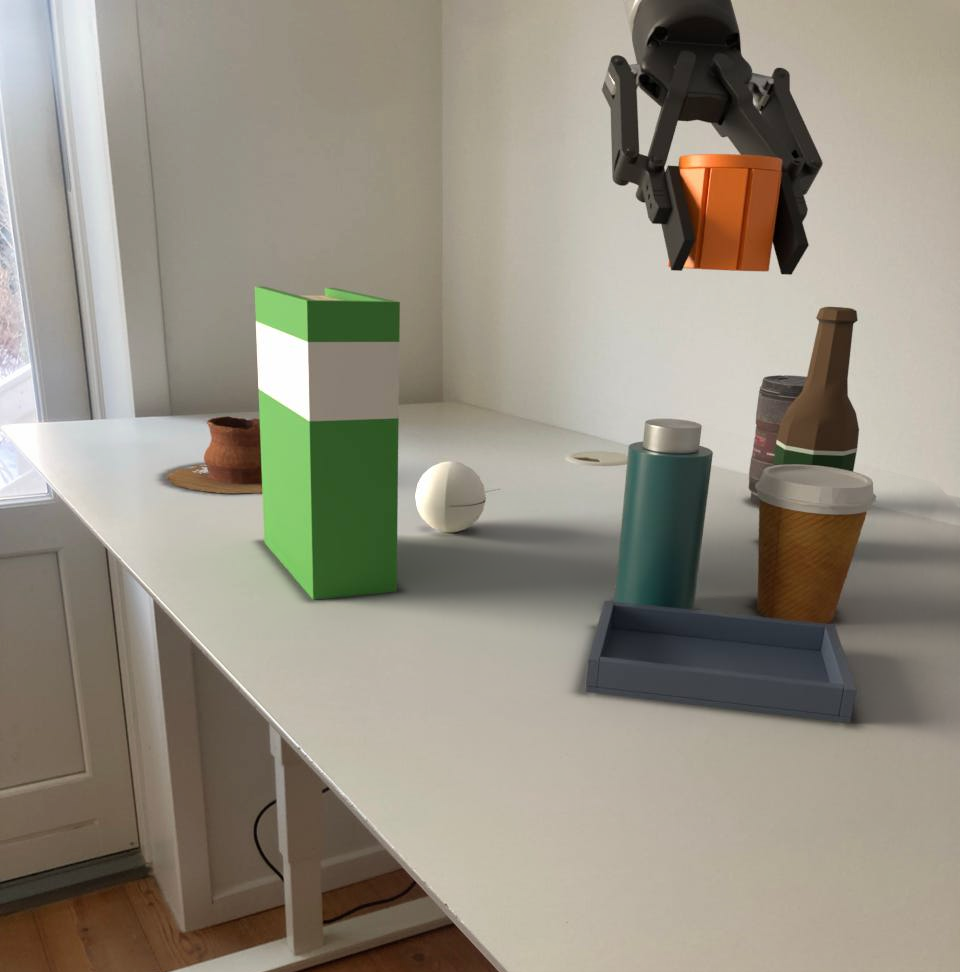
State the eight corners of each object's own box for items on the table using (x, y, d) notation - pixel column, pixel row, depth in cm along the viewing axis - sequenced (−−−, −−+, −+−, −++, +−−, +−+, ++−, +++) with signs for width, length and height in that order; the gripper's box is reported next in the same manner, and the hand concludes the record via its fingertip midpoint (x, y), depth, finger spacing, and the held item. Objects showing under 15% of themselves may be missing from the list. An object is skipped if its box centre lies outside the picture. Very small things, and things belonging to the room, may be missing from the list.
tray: (829, 655, 79) (834, 624, 78) (850, 725, 68) (856, 690, 67) (601, 630, 82) (604, 600, 81) (584, 693, 71) (587, 659, 70)
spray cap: (765, 269, 74) (779, 163, 71) (770, 272, 68) (785, 155, 65) (670, 265, 75) (680, 160, 73) (666, 267, 69) (677, 152, 66)
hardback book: (264, 544, 101) (254, 286, 92) (337, 538, 104) (334, 288, 95) (313, 601, 86) (307, 300, 77) (396, 592, 89) (399, 302, 80)
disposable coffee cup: (819, 594, 93) (842, 463, 89) (874, 632, 84) (902, 489, 80) (720, 596, 91) (738, 462, 87) (766, 635, 83) (789, 489, 78)
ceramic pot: (280, 458, 138) (279, 405, 135) (339, 486, 124) (338, 428, 122) (146, 469, 129) (141, 413, 126) (193, 501, 115) (189, 438, 112)
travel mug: (730, 503, 124) (747, 377, 119) (767, 494, 130) (785, 373, 124) (789, 517, 119) (809, 386, 113) (825, 508, 124) (846, 381, 119)
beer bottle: (794, 563, 102) (835, 310, 93) (745, 542, 108) (779, 304, 100) (854, 556, 105) (899, 311, 96) (803, 536, 112) (841, 305, 103)
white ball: (430, 543, 103) (432, 471, 100) (404, 525, 109) (405, 456, 107) (519, 536, 107) (523, 466, 104) (489, 518, 113) (492, 452, 111)
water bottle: (692, 605, 89) (715, 419, 83) (691, 632, 83) (716, 433, 77) (616, 597, 90) (633, 413, 84) (610, 623, 84) (628, 427, 78)
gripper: (784, 75, 82) (852, 301, 73) (540, 57, 78) (579, 293, 70) (827, -17, 75) (907, 220, 66) (561, -41, 72) (608, 207, 63)
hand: (739, 257), depth 68 cm, fingers closed on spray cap, 7 cm apart
